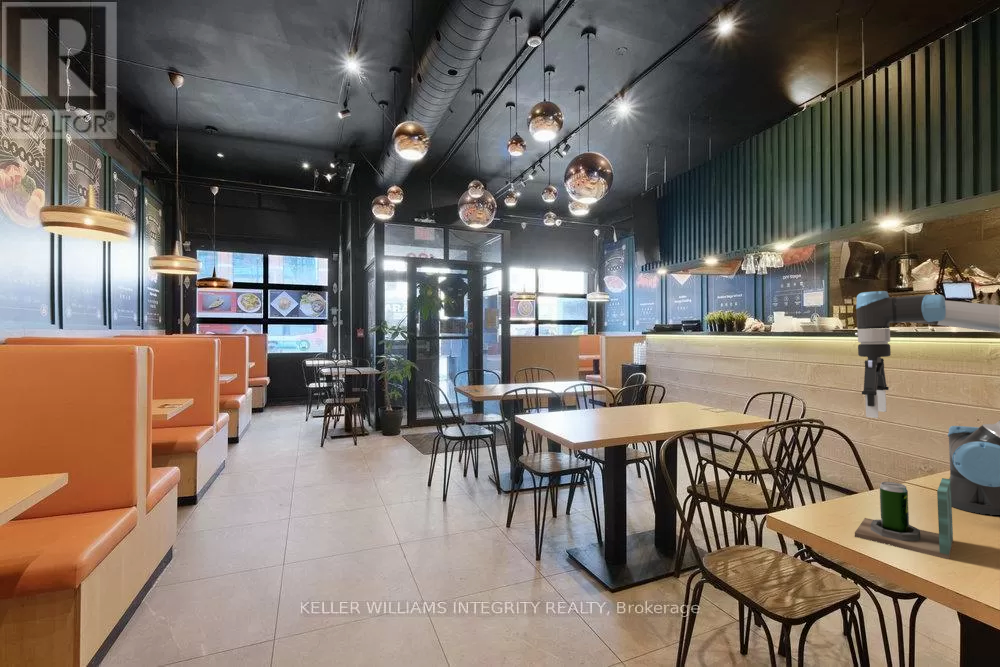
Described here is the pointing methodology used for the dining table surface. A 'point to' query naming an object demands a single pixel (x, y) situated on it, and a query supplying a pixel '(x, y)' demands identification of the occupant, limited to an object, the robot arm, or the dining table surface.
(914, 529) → the seat plate
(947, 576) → the dining table surface
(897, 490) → the green drink can
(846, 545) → the dining table surface
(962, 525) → the dining table surface
